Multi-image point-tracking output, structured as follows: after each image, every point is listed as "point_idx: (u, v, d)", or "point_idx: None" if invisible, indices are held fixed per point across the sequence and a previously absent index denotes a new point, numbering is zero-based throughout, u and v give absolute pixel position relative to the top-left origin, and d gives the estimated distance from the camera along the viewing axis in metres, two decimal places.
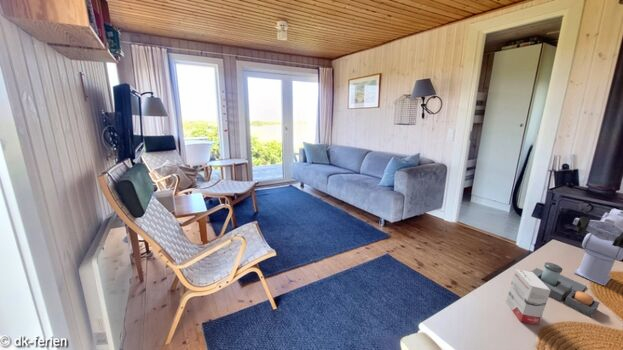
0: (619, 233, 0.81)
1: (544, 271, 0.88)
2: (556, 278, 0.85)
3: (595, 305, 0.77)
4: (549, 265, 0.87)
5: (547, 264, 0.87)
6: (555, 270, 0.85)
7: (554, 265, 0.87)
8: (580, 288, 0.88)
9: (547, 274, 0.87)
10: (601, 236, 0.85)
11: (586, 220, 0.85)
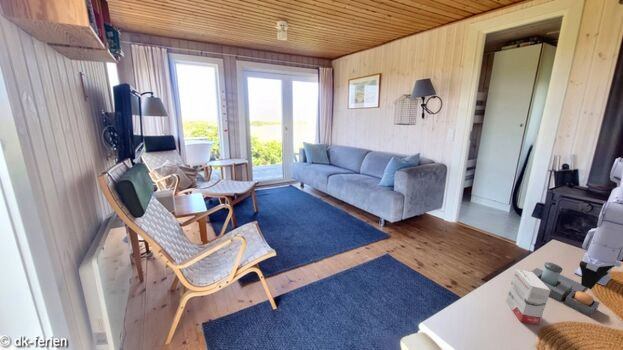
0: None
1: (544, 271, 0.88)
2: (556, 278, 0.85)
3: (595, 305, 0.77)
4: (549, 265, 0.87)
5: (547, 264, 0.87)
6: (555, 270, 0.85)
7: (554, 265, 0.87)
8: (580, 288, 0.88)
9: (547, 274, 0.87)
10: None
11: None
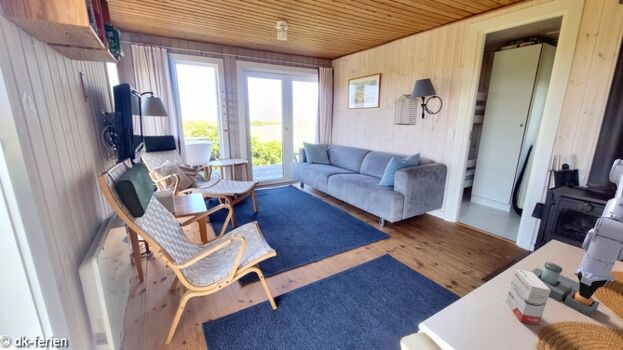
0: None
1: (544, 271, 0.88)
2: (556, 278, 0.85)
3: (595, 305, 0.77)
4: (549, 265, 0.87)
5: (547, 264, 0.87)
6: (555, 270, 0.85)
7: (554, 265, 0.87)
8: None
9: (547, 274, 0.87)
10: None
11: None
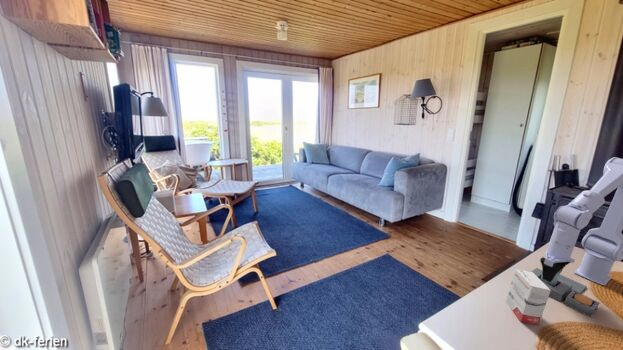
0: None
1: None
2: (556, 278, 0.85)
3: (595, 305, 0.77)
4: None
5: None
6: None
7: None
8: (580, 288, 0.88)
9: None
10: None
11: (559, 270, 0.83)
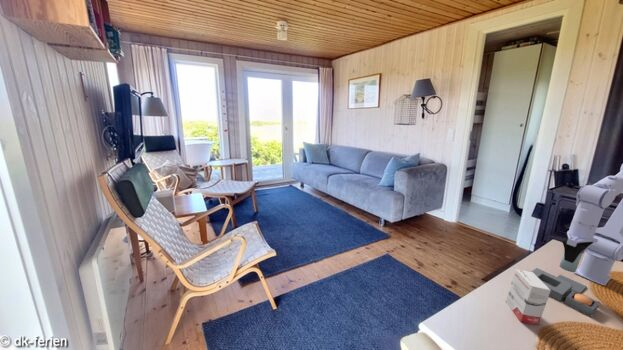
0: None
1: None
2: (578, 259, 0.85)
3: (595, 305, 0.77)
4: None
5: None
6: None
7: None
8: (580, 288, 0.88)
9: None
10: None
11: (582, 250, 0.82)
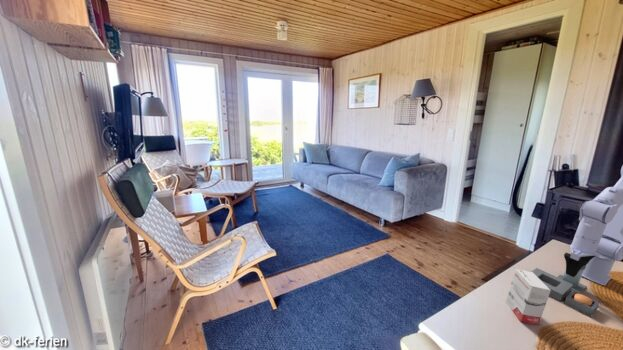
0: None
1: None
2: (580, 275, 0.87)
3: (595, 305, 0.77)
4: None
5: None
6: None
7: None
8: (580, 288, 0.88)
9: None
10: None
11: None
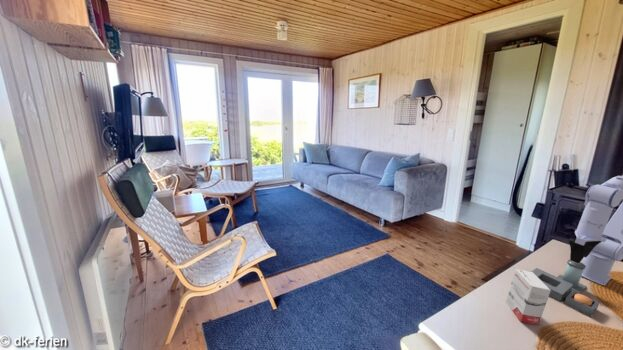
0: None
1: (567, 268, 0.89)
2: (580, 275, 0.87)
3: (595, 305, 0.77)
4: (572, 262, 0.88)
5: (570, 261, 0.89)
6: (579, 267, 0.86)
7: None
8: (580, 288, 0.88)
9: (570, 271, 0.88)
10: None
11: (589, 250, 0.82)
